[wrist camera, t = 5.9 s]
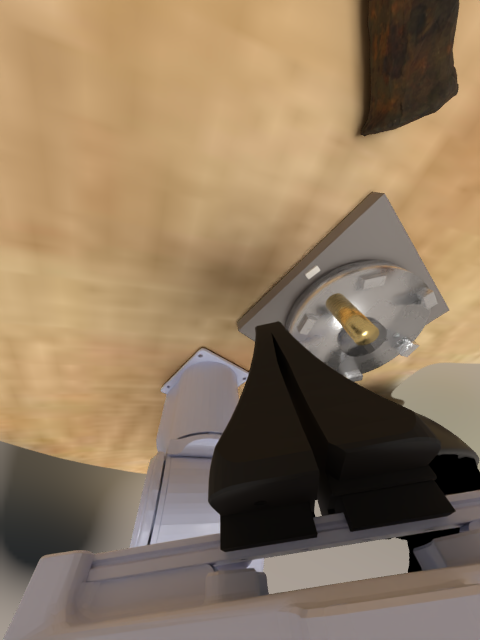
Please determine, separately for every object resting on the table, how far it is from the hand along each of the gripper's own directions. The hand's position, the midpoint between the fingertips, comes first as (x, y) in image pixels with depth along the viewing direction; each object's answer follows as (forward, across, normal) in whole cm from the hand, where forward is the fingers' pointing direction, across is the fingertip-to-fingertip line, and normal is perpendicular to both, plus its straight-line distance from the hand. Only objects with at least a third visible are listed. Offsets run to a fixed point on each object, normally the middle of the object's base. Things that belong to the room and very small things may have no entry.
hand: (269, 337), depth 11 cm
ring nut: (+8, -9, +7) cm, 14 cm away
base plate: (+9, -9, +7) cm, 15 cm away
